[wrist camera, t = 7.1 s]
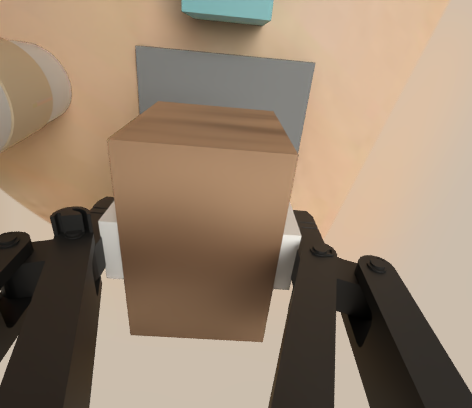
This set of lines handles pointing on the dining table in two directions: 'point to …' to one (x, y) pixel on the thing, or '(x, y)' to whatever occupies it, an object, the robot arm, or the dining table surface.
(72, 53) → the dining table surface
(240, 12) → the teal brick
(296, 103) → the mat
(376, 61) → the dining table surface
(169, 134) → the walnut brick
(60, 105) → the coffee cup
